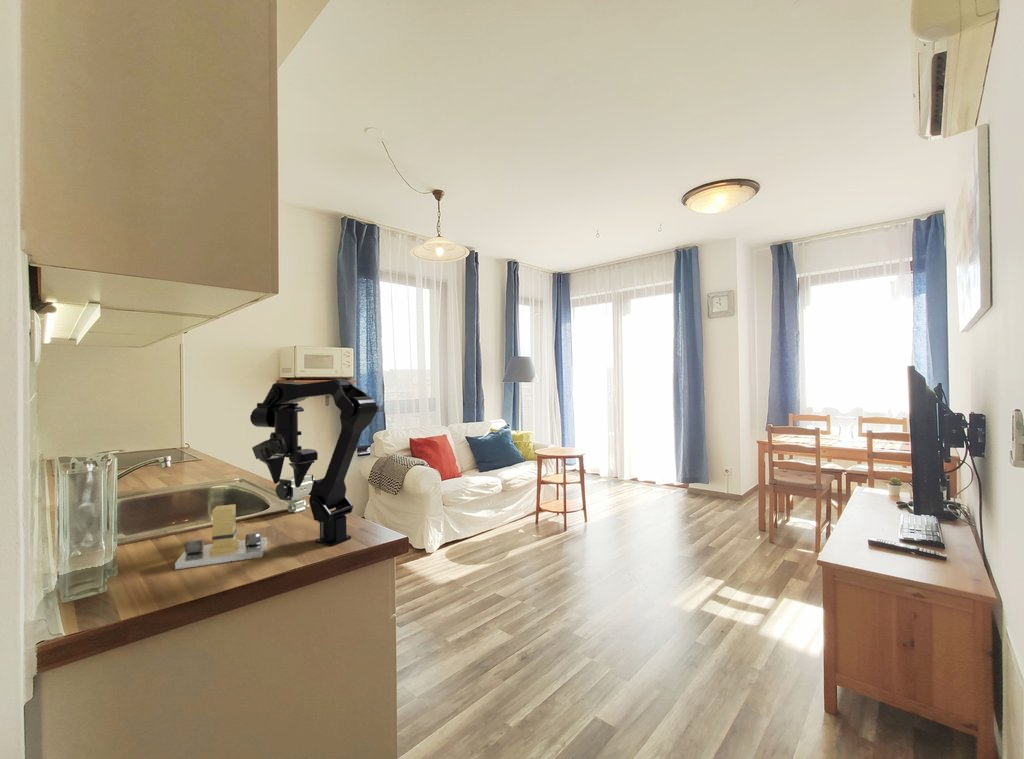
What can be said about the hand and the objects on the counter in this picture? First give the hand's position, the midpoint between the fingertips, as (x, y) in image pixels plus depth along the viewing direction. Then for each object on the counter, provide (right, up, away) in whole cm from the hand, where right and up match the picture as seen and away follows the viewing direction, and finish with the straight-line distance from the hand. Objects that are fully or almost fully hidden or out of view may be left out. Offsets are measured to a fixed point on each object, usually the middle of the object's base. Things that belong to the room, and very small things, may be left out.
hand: (286, 485), depth 123 cm
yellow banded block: (-7, -12, -15) cm, 21 cm away
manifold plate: (-7, -13, -15) cm, 21 cm away
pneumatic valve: (-6, -13, +20) cm, 24 cm away
